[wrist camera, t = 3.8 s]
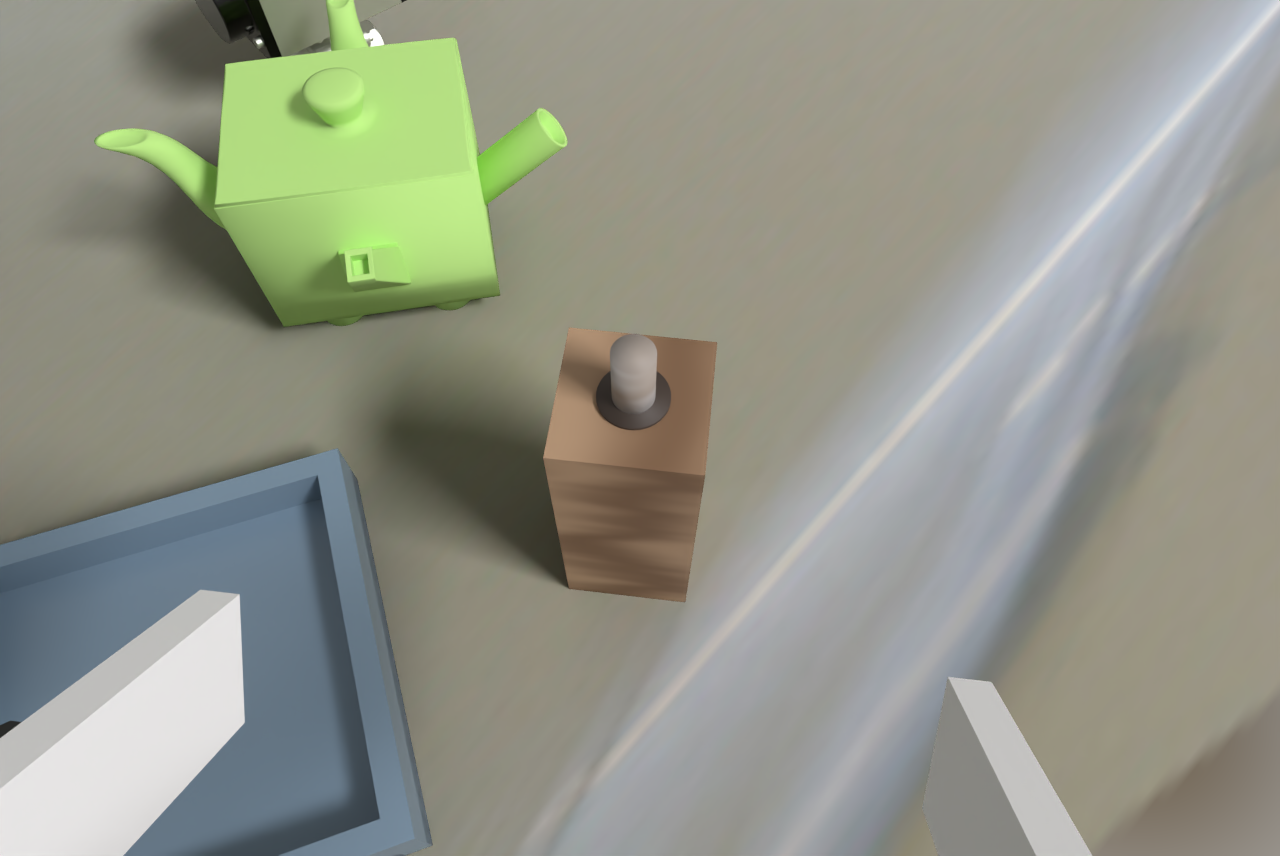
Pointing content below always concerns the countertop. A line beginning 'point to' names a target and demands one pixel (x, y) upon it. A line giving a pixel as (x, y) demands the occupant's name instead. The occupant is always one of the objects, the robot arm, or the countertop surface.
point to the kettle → (354, 176)
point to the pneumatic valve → (286, 23)
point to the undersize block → (629, 460)
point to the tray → (271, 656)
